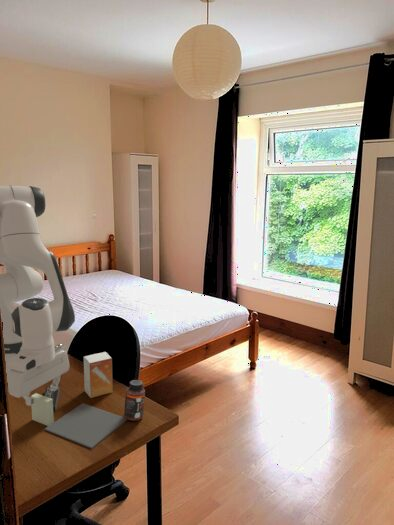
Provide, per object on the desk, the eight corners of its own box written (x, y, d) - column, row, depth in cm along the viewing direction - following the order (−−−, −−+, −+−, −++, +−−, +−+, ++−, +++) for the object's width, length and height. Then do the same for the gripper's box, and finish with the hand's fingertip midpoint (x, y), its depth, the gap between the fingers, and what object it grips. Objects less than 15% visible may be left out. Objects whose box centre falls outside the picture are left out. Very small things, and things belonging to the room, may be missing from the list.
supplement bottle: (142, 422, 126) (145, 387, 125) (123, 421, 126) (125, 386, 124) (143, 412, 132) (146, 378, 131) (124, 411, 132) (127, 377, 130)
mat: (44, 430, 122) (44, 428, 122) (82, 404, 136) (82, 403, 136) (91, 449, 114) (91, 447, 114) (127, 419, 128) (127, 418, 128)
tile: (32, 419, 127) (30, 396, 125) (37, 416, 129) (35, 393, 127) (48, 426, 124) (47, 402, 122) (53, 422, 126) (52, 398, 124)
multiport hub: (59, 390, 145) (59, 384, 145) (55, 413, 131) (55, 407, 131) (46, 392, 144) (46, 386, 144) (40, 415, 130) (40, 408, 130)
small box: (90, 399, 139) (89, 363, 137) (84, 390, 145) (82, 356, 142) (113, 392, 144) (112, 357, 141) (106, 384, 149) (105, 351, 146)
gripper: (57, 340, 132) (60, 380, 135) (2, 364, 114) (6, 410, 117) (72, 343, 129) (75, 384, 132) (18, 369, 111) (22, 416, 114)
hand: (42, 397), depth 124 cm, fingers open, 8 cm apart
